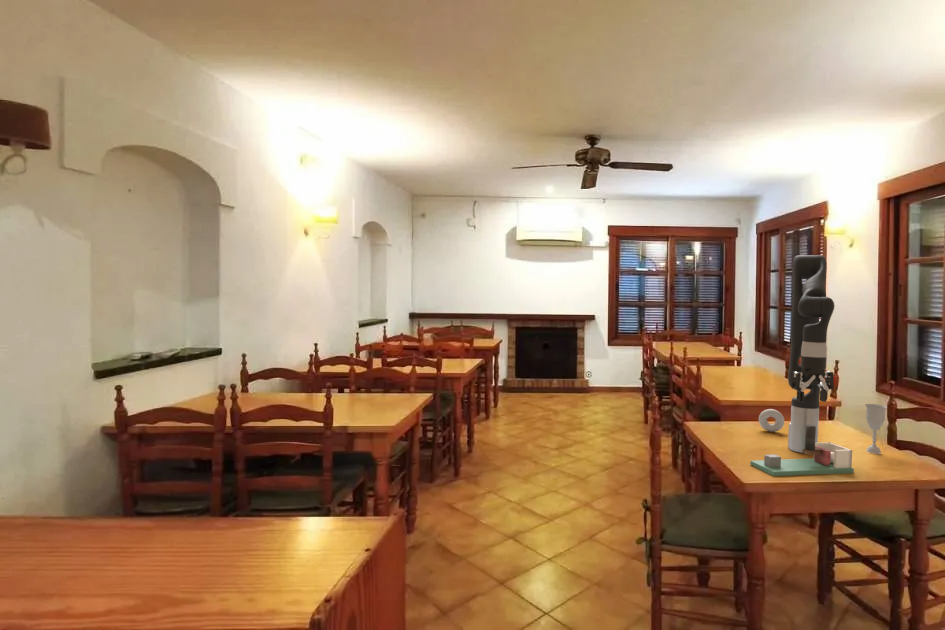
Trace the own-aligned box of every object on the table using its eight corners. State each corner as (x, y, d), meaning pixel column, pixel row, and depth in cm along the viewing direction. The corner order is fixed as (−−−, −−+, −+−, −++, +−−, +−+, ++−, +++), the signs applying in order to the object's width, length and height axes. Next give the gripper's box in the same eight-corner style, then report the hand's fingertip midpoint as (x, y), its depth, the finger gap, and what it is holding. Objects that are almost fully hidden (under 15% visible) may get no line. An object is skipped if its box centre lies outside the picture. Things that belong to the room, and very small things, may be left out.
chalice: (888, 455, 212) (891, 408, 211) (868, 454, 214) (870, 407, 213) (878, 450, 219) (881, 404, 218) (859, 449, 221) (861, 403, 220)
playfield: (750, 464, 199) (750, 451, 199) (826, 462, 203) (827, 448, 203) (773, 476, 187) (773, 461, 187) (853, 472, 192) (854, 458, 191)
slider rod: (798, 461, 198) (800, 424, 197) (819, 460, 199) (820, 424, 198) (809, 465, 193) (810, 428, 192) (830, 465, 194) (831, 427, 193)
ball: (828, 463, 199) (820, 457, 198) (834, 454, 199) (826, 448, 199) (837, 467, 195) (829, 461, 194) (843, 457, 195) (835, 451, 195)
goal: (813, 459, 201) (814, 442, 201) (828, 458, 202) (829, 442, 202) (835, 468, 192) (836, 450, 191) (851, 467, 192) (852, 450, 192)
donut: (757, 430, 247) (758, 408, 247) (758, 429, 250) (759, 406, 250) (783, 434, 242) (784, 411, 242) (784, 432, 245) (785, 409, 245)
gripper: (824, 353, 198) (822, 399, 199) (787, 353, 196) (785, 400, 197) (841, 356, 191) (838, 403, 192) (803, 356, 189) (801, 404, 190)
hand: (811, 401), depth 194 cm, fingers open, 8 cm apart
